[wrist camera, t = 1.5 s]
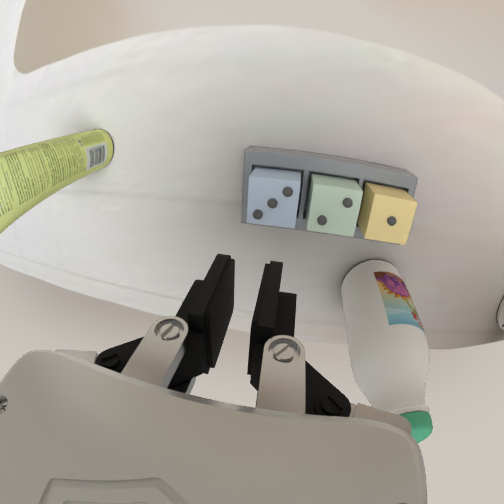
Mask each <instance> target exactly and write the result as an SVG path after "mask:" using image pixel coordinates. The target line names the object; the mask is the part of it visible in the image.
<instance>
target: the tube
mask: <svg viewBox="0 0 504 504" xmlns="http://www.w3.org/2000/svg"><path fill="white" fill-rule="evenodd" d="M112 155H113V143H112V140H111V138H110V136H109V134H108V133H107V132H105V131H104V130H101V129H96V130H91V131H86V132H81V133H76V134H72V135H67V136H63V137H58V138H54V139H50V140H46V141H42V142H38V143H34V144H30V145H26V146H22V147H18V148H15V149H11V150H8V151H4V152H1V153H0V233H2V232H3V231H4V230H5V229H6V228H7V227H8V226H9V225H11V224H12V223H13V222H14V221H16V220H17V219H18V218H19V217H21V216H22V215H23V214H25V213H26V212H27V211H29V210H30V209H31V208H33V207H34V206H36V205H37V204H39V203H40V202H41V201H43V200H44V199H46V198H47V197H49V196H51V195H52V194H54V193H55V192H57V191H59V190H60V189H62V188H64V187H66V186H67V185H69V184H71V183H73V182H75V181H77V180H78V179H80V178H82V177H84V176H86V175H88V174H90V173H92V172H94V171H97V170H99V169H101V168H103V167H105V166H106V165H107V164H108V163H109V162H110V160H111V158H112Z"/></svg>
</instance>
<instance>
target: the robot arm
mask: <svg viewBox="0 0 504 504" xmlns="http://www.w3.org/2000/svg"><path fill="white" fill-rule="evenodd" d="M282 267H283V262H276V261H271V262H270V264H265V268H264V272H263V276H262V281H261V285H260V289H259V294H258V298H257V302H256V306H255V311H254V315H253V319H252V325H251V335H250V347H249V359H248V373H247V374H249V375H251V380H250V383H251V384H252V386H253V387H254V388H255V389H256V390H257V391H258V393H257V401H256V407H255V408H253V407H247V406H240V405H235V404H230V403H225V402H220V401H215V400H211V399H206V398H202V397H198V396H193V395H190V393H191V390H192V388H193V386H194V383H195V380H196V376H198V375H201V374H202V373H205V374H208V372H209V369H210V367H211V368H214V367H215V365H216V361H217V358H218V356H219V352H220V349H221V346H222V343H223V340H224V337H225V334H226V331H227V328H228V325H229V322H230V319H231V316H232V313H233V308H234V272H235V260H234V259H231V256H230V255H223V254H217V256H216V258H215V260H214V262H213V264H212V265H211V267H210V269H209V271H208V273H207V275H206V277H205V279H204V281H203V280H195V282H194V283H193V285H192V287H191V289H190V291H189V292H188V294H187V296H186V298H185V300H184V301H183V303H182V305H181V307H180V309H179V311H178V312H177V314H176V316H166V317H162V318H160V319H158V320H156V321H155V322H154V323H153V325H152V326H151V327H150V329H149V330H148V332H147V334H146V335H145V336H144V337H142V338H139V339H136V340H133V341H130V342H127V343H124V344H122V345H119V346H116V347H113V348H110V349H107V350H105V351H103V352H102V353H100V354H97V352H93V351H76V350H56V351H52V350H35V351H30V352H28V353H26V354H25V355H23V356H22V357H21V358H20V359H19V360H18V361H17V362H16V363H15V364H14V365H13V366H12V368H11V369H10V370H9V371H8V373H7V374H6V375H5V377H4V378H3V379H2V381H1V382H0V504H427V486H426V475H425V468H424V463H423V457H422V454H421V450H420V448H419V445H418V443H417V442H416V440H415V439H414V438H413V437H412V435H411V425H410V422H409V421H408V420H407V419H406V418H405V417H403V416H400V415H397V414H393V413H390V412H386V411H383V410H380V409H376V408H373V407H370V406H366V405H363V404H360V403H358V404H357V405H355V404H352V403H350V402H349V400H348V399H347V398H346V396H345V395H344V394H342V393H341V392H340V391H339V390H338V389H337V388H336V387H334V386H333V385H332V384H331V383H330V382H329V381H328V380H327V379H325V378H324V377H323V376H322V375H321V374H320V373H319V372H317V371H316V370H315V369H314V368H313V367H312V366H311V365H310V364H309V363H308V362H307V361H305V349H304V346H303V345H302V344H301V342H300V341H299V340H297V339H296V338H294V329H295V313H296V294H293V293H285V292H279V289H280V282H281V274H282ZM497 321H498V324H499V326H500V328H501V329H502V330H504V298H503V300H502V302H501V304H500V307H499V310H498V315H497Z"/></svg>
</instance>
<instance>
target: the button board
mask: <svg viewBox="0 0 504 504" xmlns="http://www.w3.org/2000/svg"><path fill="white" fill-rule="evenodd" d="M255 167H262V168H272V169H281V170H290V171H298V172H301V183H300V192H299V200H298V208H297V215H296V223H295V230H302V231H308V230H307V224H306V212H307V205H308V198H309V190H310V183H311V175H312V173H313V174H320V175H327V176H333V177H340V178H346V179H352V180H355V181H356V182H357V183H358V185H359V186H360V188H361V189H362V191H363V192H364V187H365V182H368V183H374V184H379V185H384V186H389V187H393V188H398V189H403V190H405V191H406V192H407V193H408V194H409V195H410V196H411V197H412V198H413V197H414V193H415V189H416V185H417V180H418V178H417V177H416V176H414V175H413V174H411V173H410V172H408V171H407V170H403V169H399V168H394V167H390V166H386V165H381V164H376V163H371V162H366V161H361V160H356V159H350V158H345V157H339V156H332V155H326V154H319V153H312V152H305V151H297V150H288V149H279V148H269V147H257V146H250V147H249V148H247V149H246V150H245V155H244V175H243V197H242V220H241V223H246V224H252V223H247V205H248V186H249V176H250V174H251V173H252V171H253V170H254V169H255ZM362 197H363V195H362ZM361 202H362V200H361ZM360 207H361V205H360ZM359 212H360V210H359ZM358 216H359V214H358ZM357 221H358V219H357ZM255 225H260V224H255ZM263 226H269V225H263ZM271 227H277V226H271ZM279 228H285V227H279ZM287 229H293V228H287ZM310 232H315V231H310ZM317 233H322V232H317ZM325 234H330V233H325ZM332 235H337V234H332ZM339 236H344V235H339ZM346 237H351V236H346ZM353 238H359V239H364V236H363V234H362V232H361V229H360V227H359V225H358V223H356V228H355V232H354V236H353ZM366 240H371V239H366ZM373 241H377V240H373ZM379 242H384V241H379ZM386 243H390V242H386ZM392 244H396V243H392ZM398 245H400V244H398Z"/></svg>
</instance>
